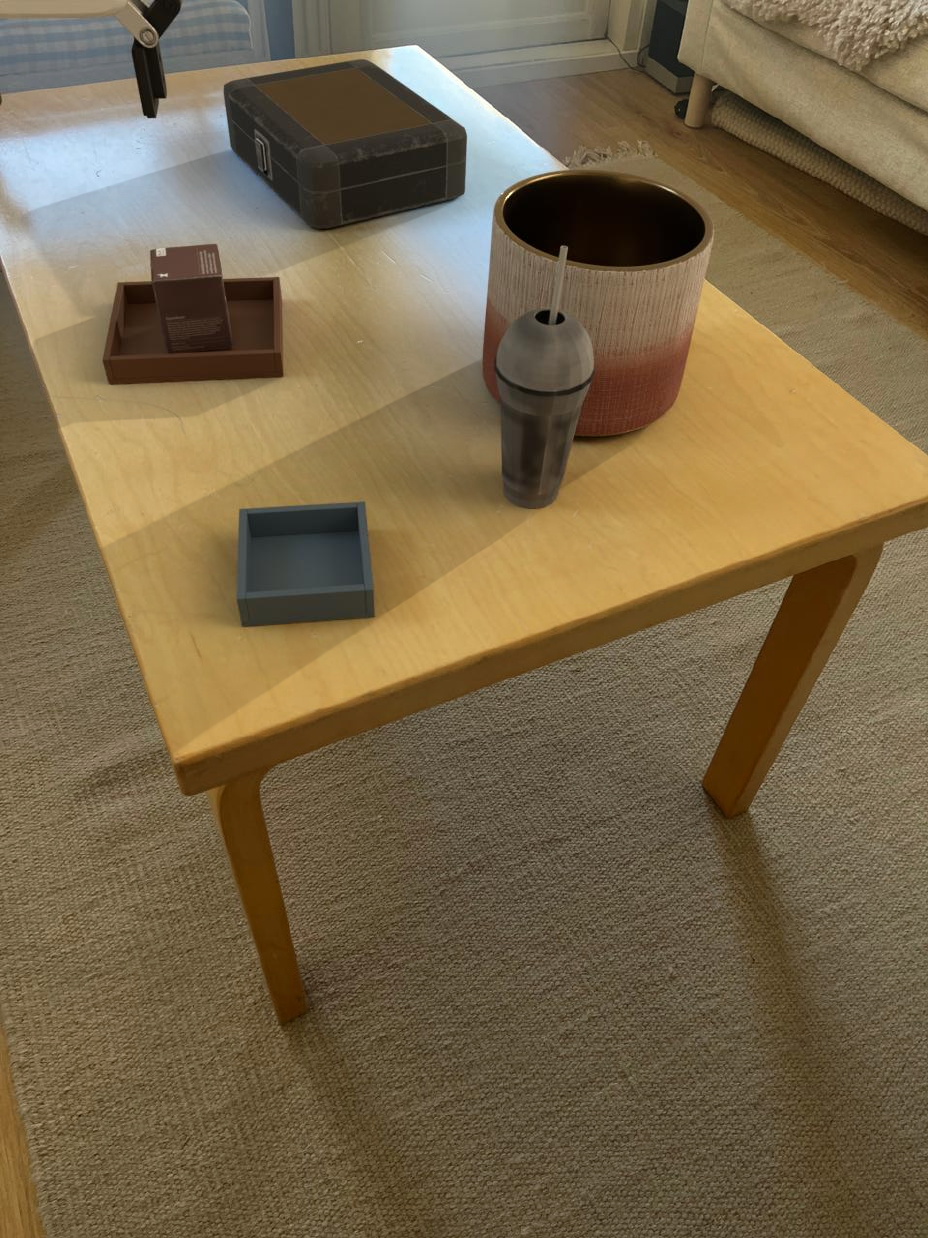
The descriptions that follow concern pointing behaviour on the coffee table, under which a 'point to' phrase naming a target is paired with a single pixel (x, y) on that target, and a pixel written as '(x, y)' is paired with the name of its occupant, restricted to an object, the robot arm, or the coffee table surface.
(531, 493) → the beverage cup
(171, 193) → the coffee table surface
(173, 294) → the box
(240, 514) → the bin
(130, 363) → the tray
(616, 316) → the planter
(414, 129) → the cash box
